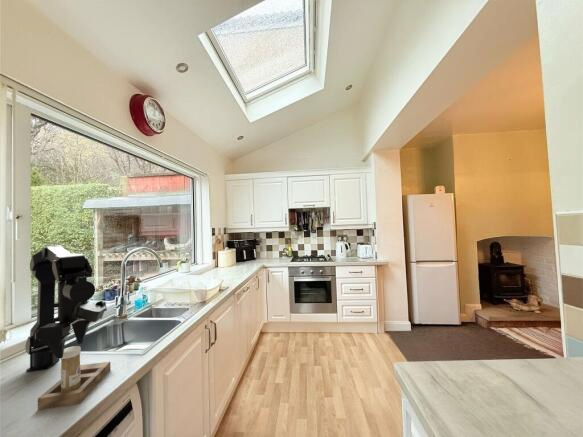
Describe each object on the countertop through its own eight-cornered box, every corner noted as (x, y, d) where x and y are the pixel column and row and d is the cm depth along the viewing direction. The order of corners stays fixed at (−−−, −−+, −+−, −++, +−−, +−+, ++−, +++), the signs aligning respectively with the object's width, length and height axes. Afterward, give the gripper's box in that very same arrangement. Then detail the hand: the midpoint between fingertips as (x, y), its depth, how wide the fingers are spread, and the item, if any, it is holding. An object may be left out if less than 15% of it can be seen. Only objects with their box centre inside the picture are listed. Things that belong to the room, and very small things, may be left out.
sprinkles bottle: (79, 396, 74) (78, 349, 75) (58, 402, 72) (58, 354, 72) (82, 388, 78) (81, 343, 79) (62, 393, 76) (62, 347, 76)
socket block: (37, 409, 69) (37, 398, 69) (77, 374, 86) (77, 365, 86) (79, 403, 71) (79, 392, 71) (110, 370, 88) (110, 361, 88)
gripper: (82, 304, 68) (82, 363, 68) (116, 288, 87) (116, 334, 86) (33, 307, 66) (33, 369, 66) (78, 290, 85) (78, 338, 84)
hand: (70, 350), depth 75 cm, fingers open, 9 cm apart
